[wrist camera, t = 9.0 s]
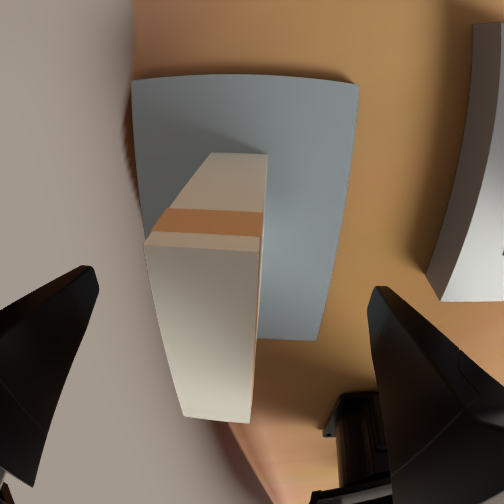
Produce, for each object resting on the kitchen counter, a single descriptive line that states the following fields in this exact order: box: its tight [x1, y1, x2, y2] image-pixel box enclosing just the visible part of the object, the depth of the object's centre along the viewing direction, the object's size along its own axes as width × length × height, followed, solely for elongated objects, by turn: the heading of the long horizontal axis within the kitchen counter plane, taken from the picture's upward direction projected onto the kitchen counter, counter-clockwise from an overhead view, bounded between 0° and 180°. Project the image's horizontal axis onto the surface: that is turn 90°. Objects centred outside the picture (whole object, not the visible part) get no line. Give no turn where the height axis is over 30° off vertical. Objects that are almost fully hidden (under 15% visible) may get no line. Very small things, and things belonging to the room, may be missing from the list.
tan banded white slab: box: [143, 152, 268, 424], centre depth 10 cm, size 6×2×6 cm, turn 178°
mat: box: [131, 74, 360, 341], centre depth 13 cm, size 12×8×1 cm, turn 178°
